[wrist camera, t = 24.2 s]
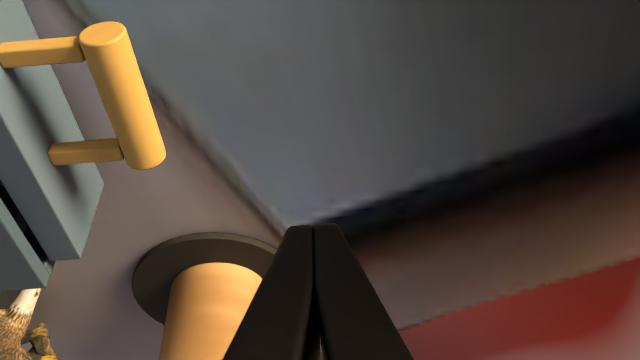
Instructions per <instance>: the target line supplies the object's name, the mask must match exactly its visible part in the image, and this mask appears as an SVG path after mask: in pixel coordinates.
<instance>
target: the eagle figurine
mask: <svg viewBox="0 0 640 360" xmlns="http://www.w3.org/2000/svg"><path fill="white" fill-rule="evenodd" d="M41 289H42V288H38V289H25V290H22V291H21V292H20V294H19V295H18V296H17V298H16V299H15V301H14V302H13V303H12V304H11V305H10V306H9V307H8V308H7V309H0V360H59V358H57V357H56V356H55V352H54V351H53V350H52V348H51V347H50V342H49V339H50V336H49V335H48V330H47V329H46V326H45V324H44V323H39V324H38V326H37V328H36V329H34V330H27V328H28V326H29V323H30V321H31V317H32V314H33V311H34V307H35V305H36V302H37V300H38V297H39V295H40V291H41ZM29 341H30V343H31V344H32V346H33V347H32V348H31V349H30V350H29V352H27V351H25V350H24V349H23V348H22V347H21V344H25V343H27V342H29Z"/></svg>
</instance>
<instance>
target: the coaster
mask: <svg viewBox="0 0 640 360" xmlns="http://www.w3.org/2000/svg"><path fill="white" fill-rule="evenodd" d="M276 251H277V250H276V249H275V248H273V247H271V246H269V245H267V244H265V243H263V242H261V241H258V240H255V239H252V238H249V237H244V236H240V235H234V234H228V233H198V234H190V235H185V236H180V237H177V238H174V239H170V240H168V241H166V242H163V243H161V244H159V245H158V246H156V247H154V248H152V249H151V250H150V251H149V252H147V253H146V254H145V255H144V256H143V257H142V258H141V259H140V261H139V262H138V264H137V266H136V268H135V270H134V273H133V278H132V291H133V294H134V297H135V299H136V301H137V303H138V304H139V305H140V307H141V308H142V309H143V310H144V311H145V312H146V313H147V314H148V315H149V316H151V317H152V318H154V319H155V320H157V321H158V322H160V323H162V324H164V325H165V320H166V314H167V308H168V302H169V296H170V290H171V285H172V283H173V281H174V279H175V278H176V277H177V276H178V275H179V274H180V273H181V272H183V271H184V270H186V269H188V268H190V267H193V266H196V265H200V264H205V263H216V262H217V263H230V264H235V265H239V266H242V267H245V268H248V269H250V270H252V271H253V272H255V273H256V274H258V275H259V276H260V277H261V278H262V279H263V277H264V275H265V273H266V271H267V269H268V267H269V265H270V263H271V261H272V259H273V257H274V255H275V253H276Z"/></svg>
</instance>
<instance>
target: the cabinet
mask: <svg viewBox="0 0 640 360" xmlns="http://www.w3.org/2000/svg"><path fill="white" fill-rule="evenodd" d="M54 264H55V261H50V260H49V258H48V256H47V255H46V253H45V252H44V250H43V248H42V247H41V245H40V244H39V242H38V240H37V239H36V237H35V235H34V234H33V232H32V231H31V229H30V227H29V226H28V224H27V227H26V229H25V231H24V234H23V233H22V231H21V230H20V228H19V226H18V225H17V223H16V222H15V220H14V219H13V217H12V215H11V214H10V212H9V211H8V209H7V208H6V206H5V204H4V203H3V201H2V200H1V198H0V291H13V290H25V289H38V288H46V286H47V283H48V280H49V277H50V274H51V272H52V269H53V266H54Z"/></svg>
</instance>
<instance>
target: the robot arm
mask: <svg viewBox="0 0 640 360" xmlns="http://www.w3.org/2000/svg"><path fill="white" fill-rule="evenodd" d="M320 339H321V347H322V354H323V360H414V359H413V357H412V356H411V354H410V352H409V350H408V349H407V347H406V345H405V343H404V341H403V340H402V338H401V336H400V334H399V333H398V331H397V329H396V327H395V325H394V324H393V322H392V320H391V318H390V317H389V315H388V313H387V311H386V310H385V308H384V306H383V304H382V302H381V301H380V299H379V297H378V295H377V294H376V292H375V290H374V288H373V286H372V285H371V283H370V281H369V279H368V278H367V276H366V274H365V272H364V270H363V269H362V267H361V265H360V263H359V262H358V260H357V258H356V256H355V255H354V253H353V251H352V249H351V247H350V246H349V244H348V242H347V240H346V239H345V237H344V235H343V233H342V231H341V230H340V228H339V226H338V225H337V224H335V223H330V224H317V225H315V226H314V227H313V228H312V226H310V225H299V226H290V227H289V228H288V229H287V231H286V233H285V235H284V237H283V239H282V241H281V243H280V245H279V247H278V249H277V251H276V253H275V255H274V257H273V259H272V261H271V263H270V265H269V267H268V269H267V271H266V273H265V275H264V277H263V279H262V281H261V283H260V285H259V287H258V289H257V291H256V293H255V295H254V297H253V299H252V301H251V303H250V305H249V307H248V309H247V311H246V313H245V315H244V317H243V319H242V321H241V323H240V325H239V327H238V329H237V331H236V333H235V335H234V337H233V339H232V341H231V343H230V345H229V347H228V349H227V351H226V353H225V355H224V357H223V359H222V360H320Z"/></svg>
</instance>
